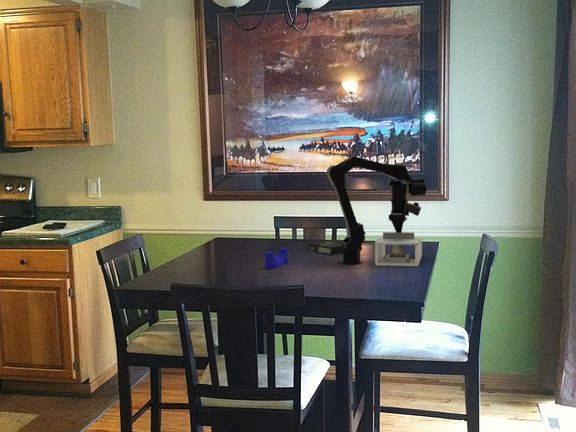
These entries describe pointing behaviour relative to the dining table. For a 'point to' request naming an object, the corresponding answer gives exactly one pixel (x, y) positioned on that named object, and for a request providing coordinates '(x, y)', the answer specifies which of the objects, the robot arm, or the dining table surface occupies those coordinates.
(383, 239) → the lid
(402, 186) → the robot arm
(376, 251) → the housing
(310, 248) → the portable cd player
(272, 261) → the cable clip
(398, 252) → the jaw peg
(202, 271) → the dining table surface
